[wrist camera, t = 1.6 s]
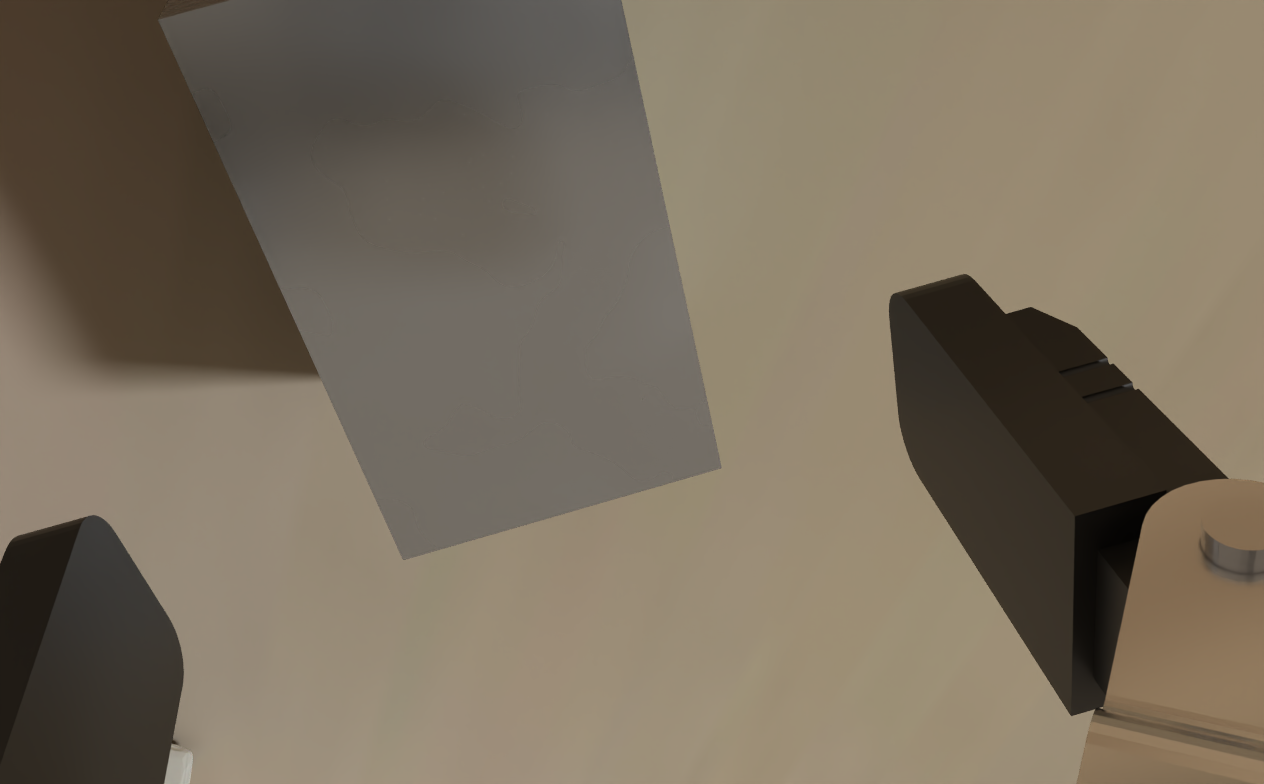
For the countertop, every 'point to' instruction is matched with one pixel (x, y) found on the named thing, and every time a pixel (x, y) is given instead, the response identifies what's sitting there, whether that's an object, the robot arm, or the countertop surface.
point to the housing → (462, 245)
